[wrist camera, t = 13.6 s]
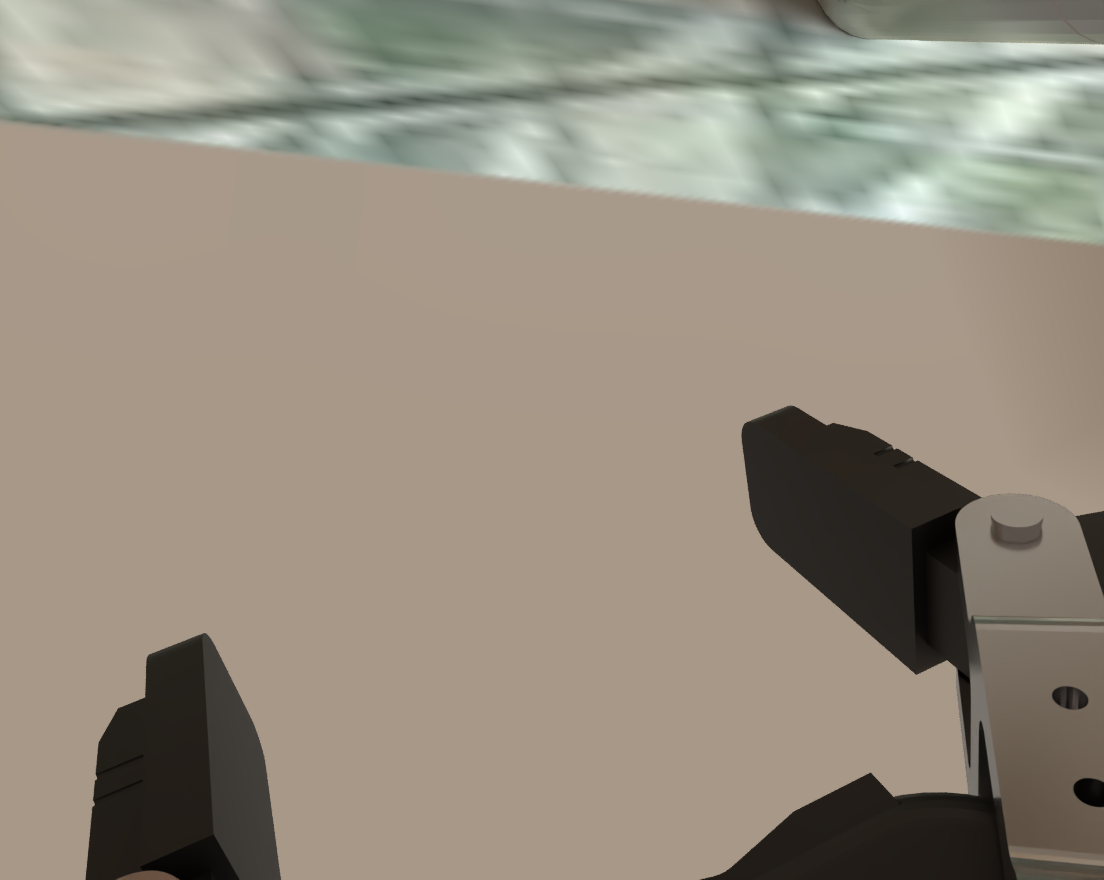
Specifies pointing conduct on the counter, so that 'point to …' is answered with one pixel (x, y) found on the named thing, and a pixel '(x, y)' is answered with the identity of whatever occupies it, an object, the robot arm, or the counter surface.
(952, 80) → the counter surface
